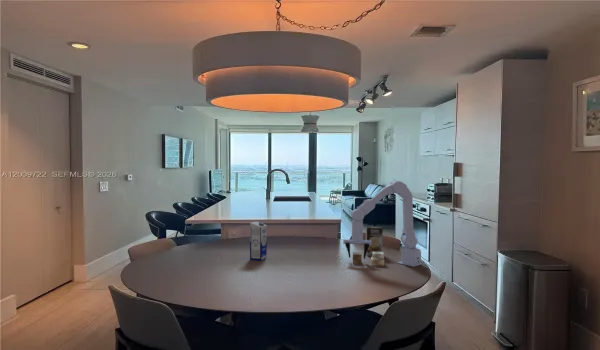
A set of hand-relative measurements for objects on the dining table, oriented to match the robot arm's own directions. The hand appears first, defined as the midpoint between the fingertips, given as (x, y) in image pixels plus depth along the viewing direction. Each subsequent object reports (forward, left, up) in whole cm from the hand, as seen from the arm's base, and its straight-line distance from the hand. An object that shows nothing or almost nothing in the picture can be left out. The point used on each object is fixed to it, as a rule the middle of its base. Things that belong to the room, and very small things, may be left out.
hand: (356, 257), depth 192 cm
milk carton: (+39, +35, -3) cm, 53 cm away
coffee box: (+5, -22, -3) cm, 22 cm away
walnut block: (0, 0, -3) cm, 3 cm away
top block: (-8, -7, 0) cm, 11 cm away
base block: (-8, -7, -3) cm, 11 cm away
